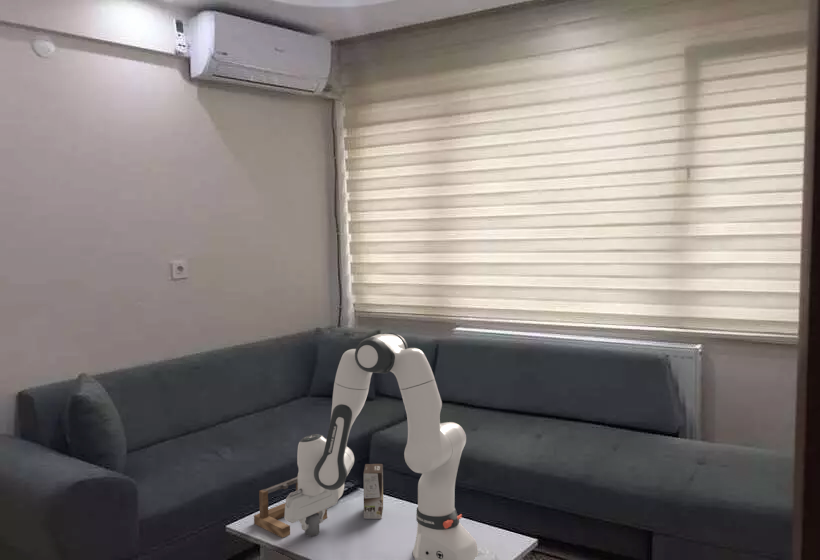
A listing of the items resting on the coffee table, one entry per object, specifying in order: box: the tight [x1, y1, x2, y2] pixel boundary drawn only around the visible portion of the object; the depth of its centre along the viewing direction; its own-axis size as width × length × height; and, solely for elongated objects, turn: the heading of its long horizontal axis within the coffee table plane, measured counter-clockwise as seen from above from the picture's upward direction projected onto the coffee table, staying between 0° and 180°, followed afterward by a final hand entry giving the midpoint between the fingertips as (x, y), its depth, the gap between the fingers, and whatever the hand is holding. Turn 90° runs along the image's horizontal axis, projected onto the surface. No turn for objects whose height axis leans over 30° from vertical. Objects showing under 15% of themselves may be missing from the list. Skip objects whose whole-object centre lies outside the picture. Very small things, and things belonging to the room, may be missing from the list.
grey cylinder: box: [304, 513, 320, 537], centre depth 223 cm, size 5×5×6 cm
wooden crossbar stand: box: [253, 476, 328, 539], centre depth 231 cm, size 15×19×12 cm
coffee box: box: [363, 463, 384, 520], centre depth 237 cm, size 9×6×16 cm
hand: (312, 525), depth 223 cm, fingers closed on grey cylinder, 5 cm apart
